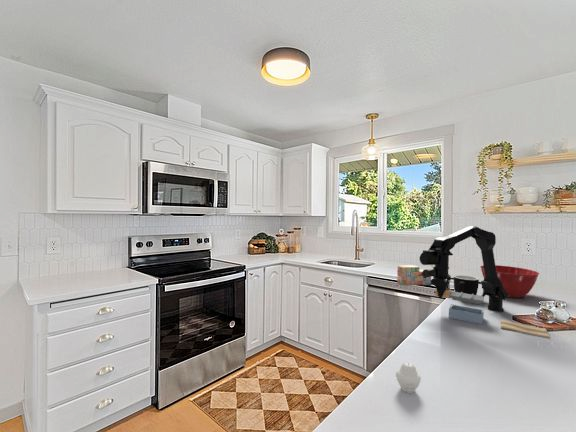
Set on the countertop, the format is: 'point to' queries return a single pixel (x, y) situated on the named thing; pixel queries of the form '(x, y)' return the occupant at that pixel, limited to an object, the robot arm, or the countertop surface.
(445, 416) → the countertop surface
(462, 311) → the tub
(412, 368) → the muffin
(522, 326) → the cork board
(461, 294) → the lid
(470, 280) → the mug
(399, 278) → the stack of blocks
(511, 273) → the mixing bowl
